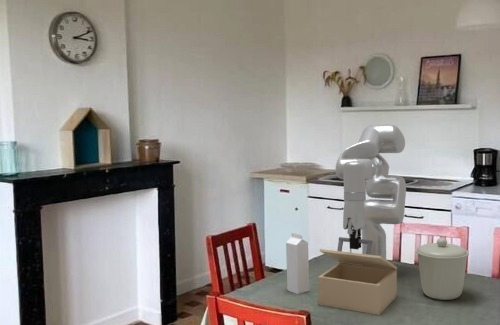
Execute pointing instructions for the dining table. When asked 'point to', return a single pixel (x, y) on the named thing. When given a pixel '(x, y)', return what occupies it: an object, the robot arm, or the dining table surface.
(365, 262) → the carton lid
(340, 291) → the carton
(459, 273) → the canister
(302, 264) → the milk
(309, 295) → the dining table surface
